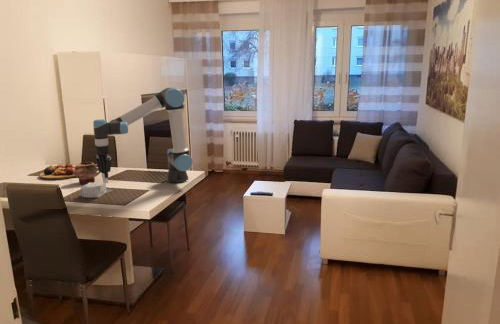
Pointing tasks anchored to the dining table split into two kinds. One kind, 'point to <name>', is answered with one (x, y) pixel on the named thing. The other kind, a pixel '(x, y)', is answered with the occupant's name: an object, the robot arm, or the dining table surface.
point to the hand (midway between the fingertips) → (105, 182)
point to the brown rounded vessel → (86, 172)
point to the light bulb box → (93, 189)
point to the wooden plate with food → (58, 172)
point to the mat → (105, 193)
